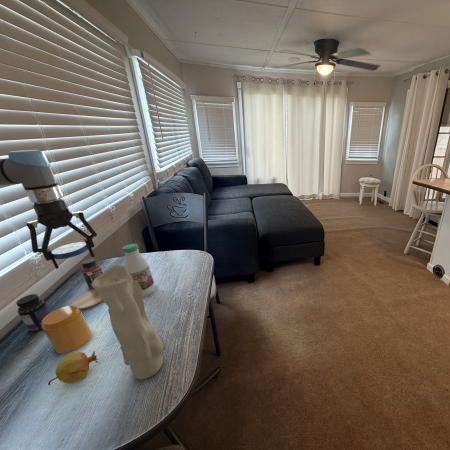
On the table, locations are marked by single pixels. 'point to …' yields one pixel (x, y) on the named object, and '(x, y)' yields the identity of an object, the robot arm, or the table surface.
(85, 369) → the fruit
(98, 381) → the table surface
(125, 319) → the vase
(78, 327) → the jar
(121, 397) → the table surface
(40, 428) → the table surface
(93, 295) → the coaster
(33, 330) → the pill bottle
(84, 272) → the supplement bottle
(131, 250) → the milk bottle
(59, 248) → the lid
